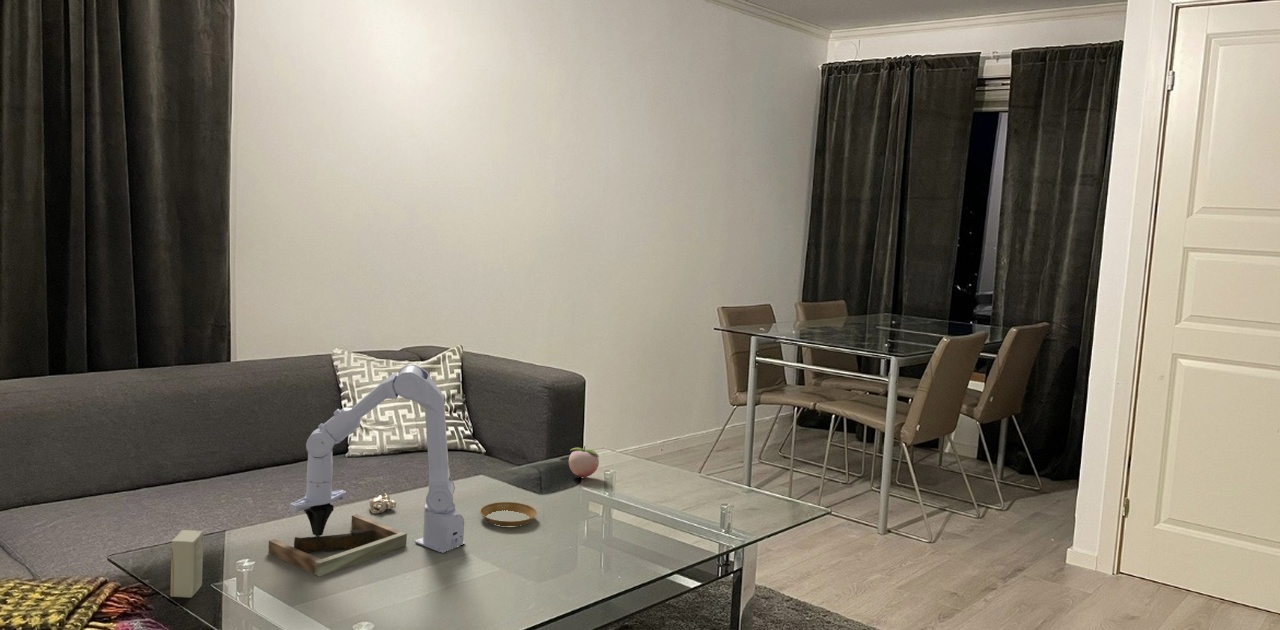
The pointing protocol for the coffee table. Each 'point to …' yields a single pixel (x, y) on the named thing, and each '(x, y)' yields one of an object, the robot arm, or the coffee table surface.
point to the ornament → (381, 504)
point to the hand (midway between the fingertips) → (317, 534)
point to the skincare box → (186, 563)
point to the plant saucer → (510, 507)
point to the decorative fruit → (583, 462)
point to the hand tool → (336, 541)
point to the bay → (319, 567)
